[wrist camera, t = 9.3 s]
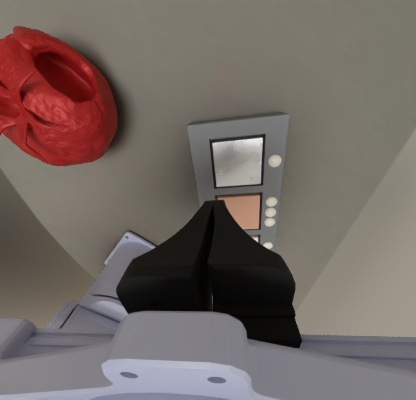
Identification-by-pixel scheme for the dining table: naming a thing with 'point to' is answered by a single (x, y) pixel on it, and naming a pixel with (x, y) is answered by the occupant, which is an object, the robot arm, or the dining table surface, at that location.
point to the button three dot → (243, 208)
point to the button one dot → (238, 160)
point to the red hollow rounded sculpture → (53, 100)
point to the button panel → (270, 169)
